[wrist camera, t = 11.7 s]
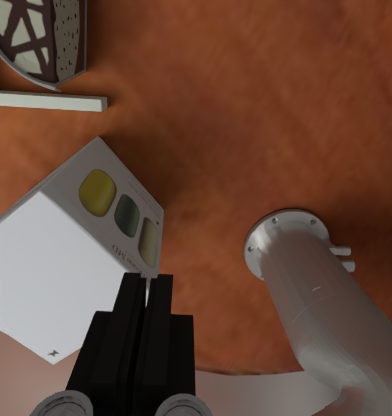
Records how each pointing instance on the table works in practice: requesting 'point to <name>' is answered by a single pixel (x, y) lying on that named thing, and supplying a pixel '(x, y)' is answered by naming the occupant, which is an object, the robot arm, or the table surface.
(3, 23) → the food container
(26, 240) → the supplement box
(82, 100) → the bay
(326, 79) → the table surface
